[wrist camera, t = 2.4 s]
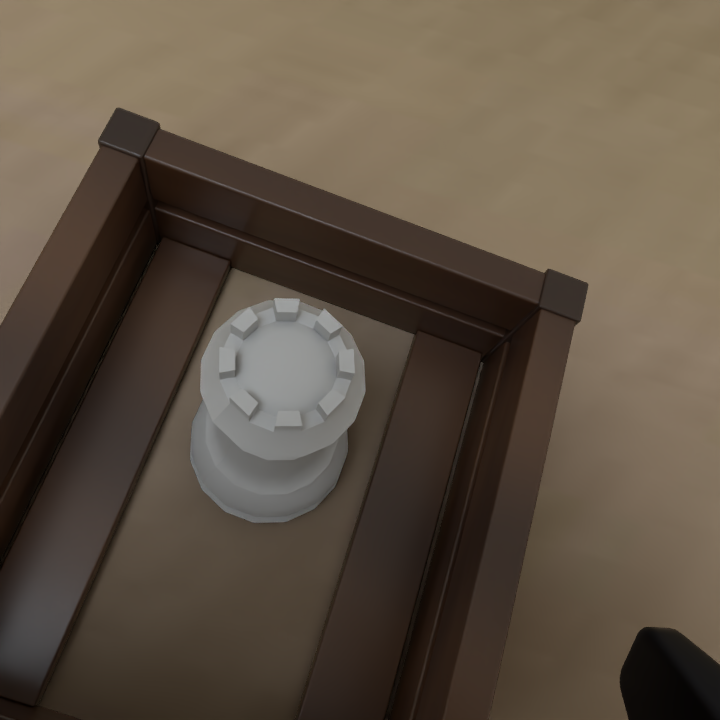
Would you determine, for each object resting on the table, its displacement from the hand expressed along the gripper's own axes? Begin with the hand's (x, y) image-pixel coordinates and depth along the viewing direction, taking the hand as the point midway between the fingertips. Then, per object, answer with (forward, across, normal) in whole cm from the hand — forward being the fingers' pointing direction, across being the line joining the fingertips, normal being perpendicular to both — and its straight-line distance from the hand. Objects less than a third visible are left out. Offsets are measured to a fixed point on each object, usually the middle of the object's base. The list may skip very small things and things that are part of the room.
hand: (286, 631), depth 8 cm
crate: (+10, 0, +6) cm, 12 cm away
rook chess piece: (+11, 0, +5) cm, 12 cm away
